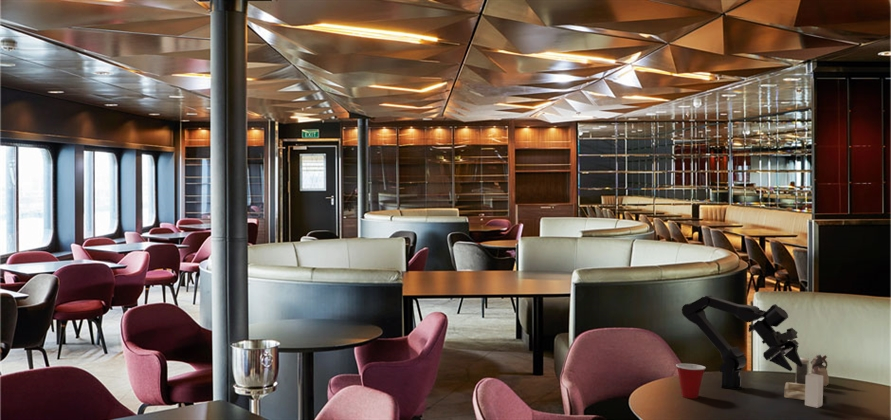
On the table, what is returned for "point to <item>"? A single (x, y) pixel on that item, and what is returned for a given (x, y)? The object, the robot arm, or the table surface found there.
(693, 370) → the plastic cup
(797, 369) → the cradle
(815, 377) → the block
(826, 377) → the figurine
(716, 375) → the table surface
